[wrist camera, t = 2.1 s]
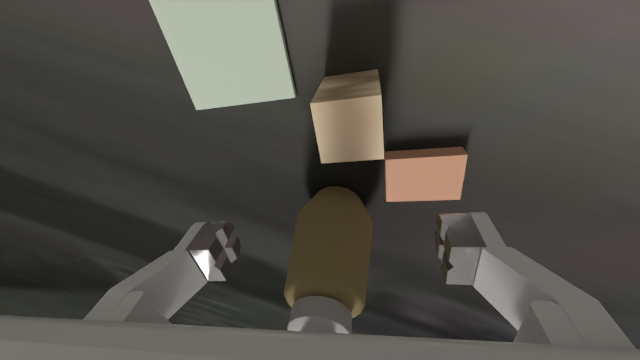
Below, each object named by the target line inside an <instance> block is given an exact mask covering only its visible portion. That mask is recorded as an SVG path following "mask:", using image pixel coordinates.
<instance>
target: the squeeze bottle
mask: <svg viewBox="0 0 640 360" xmlns="http://www.w3.org/2000/svg"><path fill="white" fill-rule="evenodd" d="M372 238H373V225H372V220H371V218H370V216H369V214H368V212H367V210H366V208H365V207H364V205H363V203H362V201H361V199H360V198H359V196H358V195H357V194H356V193H354V192H353V191H351V190H350V189H348V188H344V187H340V186H331V187H326V188H324V189H322V190H319V191H318V193H317V194H316V195H315V196H314V197H313V198H312V199H311V200H310V201H309V202H308V203H307V204H306V205H305V206H304V207H303V209H302V210H301V211H300V212H299V213H298V217H297V222H296V227H295V233H294V238H293V244H292V250H291V256H290V262H289V267H288V273H287V279H286V285H285V291H284V295H285V298H286V300H287V302H288V304H289V305H290V306H291V307H292V310H291V314H290V318H289V323H288V327H287V328H288V330H289V331H305V332H324V333H343V334H352V318H354V317H355V316H357V315H359V314H360V313H361V311H362V309H363V308H364V306H365V299H366V290H367V281H368V273H369V264H370V256H371V247H372Z"/></svg>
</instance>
